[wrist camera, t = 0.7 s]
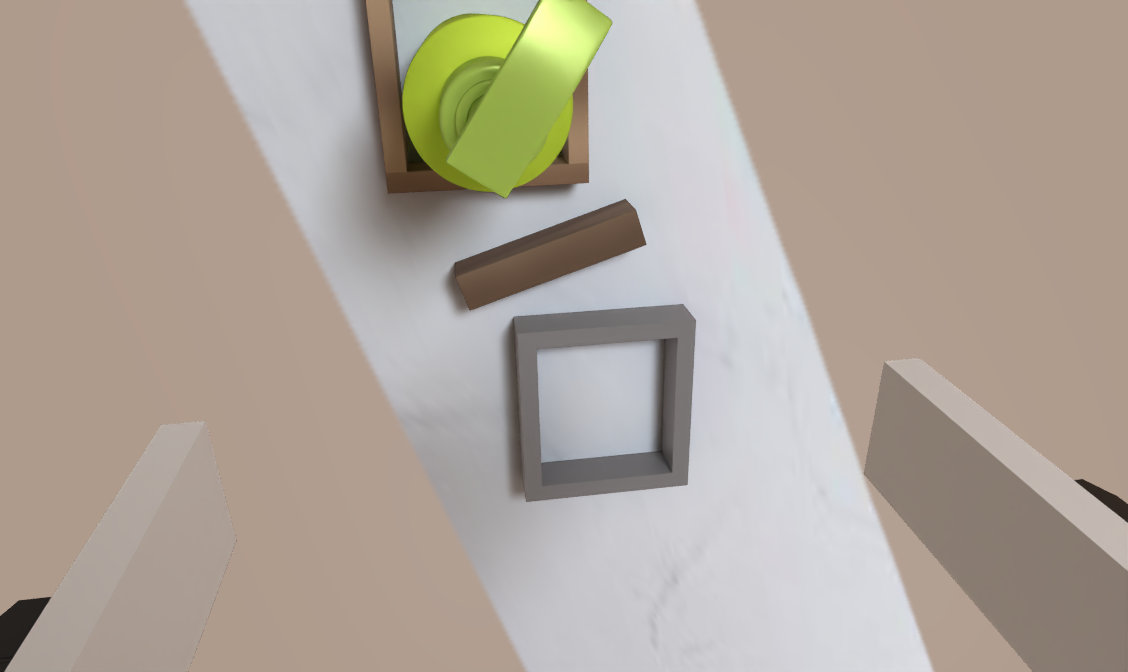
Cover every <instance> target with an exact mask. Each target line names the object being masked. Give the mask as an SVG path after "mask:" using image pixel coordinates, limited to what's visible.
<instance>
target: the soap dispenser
mask: <svg viewBox="0 0 1128 672" xmlns="http://www.w3.org/2000/svg"><path fill="white" fill-rule="evenodd" d="M611 25H612V21H611V20H610V19H609V18H608V17H607V16H605V15H604V14H603V13H601V12H600V11H599V10H597V9H596V8H595V7H593V6H592V5H591V4H589V3H588V2H587V1H585V0H539V1H538V2H537V4H536V6H535V8H534V10H533V11H532V13H531V15H530V17H529V18H528V20H527V22H526V24H523V23H520V22H518V21H516V20H513V19H510V18H506V17H502V16H496V15H486V14H462V15H458V16H455V17H452V18H450V19H448V20H446V21H444V22H442V23H441V24H439V25H438V26H437V27H436V28H435V29H434V30H433V31H432V32H431V33H430V34H429V35H428V37H427V38H426V39H425V41H424V42H423V44H422V45H421V47H420V48H419V50H418V51H417V53H416V54H415V56H414V58H413V60H412V62H411V64H410V66H409V69H408V71H407V74H406V78H405V82H404V87H403V97H402V105H403V115H404V121H405V125H406V128H407V131H408V134H409V137H410V139H411V141H412V143H413V145H414V147H415V149H416V150H417V152H418V153H419V155H420V156H421V157H422V159H423V160H424V161H425V162H426V163H427V164H428V165H429V166H430V167H431V168H432V169H433V170H434V171H435V172H436V173H438V174H439V175H440V176H442V177H443V178H445V179H446V180H448V181H450V182H452V183H454V184H456V185H458V186H461V187H464V188H467V189H471V190H476V191H484V192H495V193H497V194H498V195H500V196H501V197H503V198H505V199H506V198H507V197H508V195H509V194H510V192H511V191H512V189H513V188H516V187H518V186H521V185H523V184H525V183H527V182H529V181H531V180H533V179H534V178H536V177H537V176H539V175H540V174H541V173H542V172H544V171H545V170H546V169H547V168H548V167H549V166H550V165H551V164H552V162H553V161H554V160H555V159H556V157H557V156H558V154H559V153H560V151H561V150H562V148H563V146H564V144H565V142H566V139H567V137H568V134H569V131H570V127H571V122H572V115H573V95H572V94H573V92H574V91H575V89H576V87H577V86H578V84H579V82H580V80H581V79H582V77H583V75H584V74H585V72H586V70H587V68H588V67H589V65H590V63H591V61H592V59H593V58H594V56H595V54H596V52H597V51H598V49H599V47H600V45H601V44H602V42H603V40H604V38H605V36H606V34H607V33H608V31H609V29H610V27H611Z"/></svg>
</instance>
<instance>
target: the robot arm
mask: <svg viewBox="0 0 1128 672" xmlns="http://www.w3.org/2000/svg"><path fill="white" fill-rule="evenodd" d="M864 475H865V476H866V477H867V478H868V479H869V481H870V482H871V483H872V484H873V485H874V486H875V488H876V489H877V490H878V491H879V492H880V493H881V495H882V496H883V497H884V498H885V499H886V500H887V502H888V503H889V504H890V505H891V506H892V507H893V508H894V510H895V511H896V512H897V513H898V515H899V516H900V517H901V518H902V519H903V520H904V522H905V523H906V524H907V525H908V526H909V527H910V528H911V529H912V531H913V532H914V533H915V534H916V536H917V537H918V538H919V539H920V540H921V541H922V543H923V544H924V545H925V546H926V547H927V548H928V550H929V551H930V552H931V553H932V554H933V555H934V556H935V558H936V559H937V560H938V561H939V562H940V564H941V565H942V566H943V567H944V568H945V569H946V571H947V572H948V573H949V574H950V575H951V577H952V578H953V579H954V580H955V581H956V582H957V584H958V585H959V586H960V587H961V588H962V589H963V591H964V592H965V593H966V594H967V595H968V596H969V597H970V599H971V600H972V601H973V602H974V603H975V605H976V606H977V607H978V608H979V609H980V610H981V612H982V613H983V614H984V615H985V616H986V617H987V619H988V620H989V621H990V622H991V623H992V624H993V626H994V627H995V628H996V629H997V630H998V632H999V633H1000V634H1001V635H1002V636H1003V637H1004V638H1005V640H1006V641H1007V642H1008V643H1009V644H1010V646H1011V647H1012V648H1013V649H1014V650H1015V651H1016V653H1017V654H1018V655H1019V656H1020V657H1021V658H1022V660H1023V661H1024V662H1025V663H1026V664H1027V665H1028V667H1029V668H1030V669H1031V670H1032V671H1033V672H1128V504H1127V503H1126V502H1124V501H1123V500H1122V499H1120V498H1119V497H1117V496H1116V495H1114V494H1112V493H1109V492H1107V491H1105V490H1103V489H1101V488H1099V487H1097V486H1095V485H1093V484H1091V483H1089V482H1087V481H1085V480H1083V479H1080V480H1073V479H1071V478H1070V477H1069V476H1068V475H1066V474H1065V473H1064V472H1062V471H1061V470H1060V469H1058V467H1056V466H1055V465H1054V464H1052V463H1051V462H1050V461H1049V460H1047V459H1046V458H1045V457H1043V456H1042V455H1041V454H1040V453H1039V452H1037V451H1036V450H1035V449H1033V448H1032V447H1031V446H1030V445H1028V444H1027V443H1026V442H1025V441H1023V440H1022V439H1021V438H1020V437H1018V436H1017V435H1016V434H1014V433H1013V432H1012V431H1011V430H1009V429H1008V428H1007V427H1006V426H1004V425H1003V424H1002V423H1001V422H999V421H998V420H997V419H996V418H994V417H993V416H992V415H991V414H989V413H988V412H987V411H986V410H984V409H983V408H982V407H980V406H979V405H978V404H977V403H975V402H974V401H973V400H972V399H970V398H969V397H968V396H967V395H965V394H964V393H963V392H961V391H960V390H959V389H957V388H956V387H955V386H954V385H952V384H951V383H950V382H949V381H948V380H946V379H945V378H944V377H943V376H941V375H940V374H939V373H937V372H936V371H935V370H934V369H932V368H931V367H930V366H928V365H927V364H926V363H925V362H924V361H922V360H921V359H919V358H917V359H906V360H894V361H884V366H883V371H882V376H881V382H880V387H879V393H878V398H877V404H876V409H875V415H874V420H873V426H872V431H871V437H870V442H869V448H868V453H867V458H866V464H865V469H864ZM236 541H237V540H236V537H235V533H234V529H233V525H232V521H231V518H230V514H229V510H228V506H227V502H226V498H225V495H224V490H223V486H222V483H221V479H220V475H219V471H218V467H217V464H216V459H215V455H214V452H213V448H212V444H211V440H210V436H209V432H208V428H207V424H206V421H199V422H187V423H177V424H165V425H161V426H160V427H159V429H158V430H157V432H156V434H155V435H154V437H153V438H152V440H151V441H150V443H149V445H148V446H147V448H146V449H145V451H144V453H143V454H142V456H141V457H140V459H139V460H138V462H137V463H136V465H135V467H134V468H133V470H132V471H131V473H130V475H129V476H128V478H127V479H126V481H125V482H124V484H123V486H122V487H121V489H120V490H119V492H118V493H117V495H116V497H115V498H114V500H113V501H112V503H111V505H110V506H109V508H108V509H107V511H106V512H105V514H104V516H103V517H102V519H101V520H100V522H99V523H98V525H97V526H96V528H95V530H94V531H93V533H92V534H91V536H90V538H89V539H88V541H87V542H86V544H85V545H84V547H83V549H82V550H81V552H80V553H79V555H78V556H77V558H76V560H75V561H74V563H73V564H72V566H71V567H70V569H69V571H68V572H67V574H66V576H65V577H64V579H63V580H62V582H61V583H60V585H59V586H58V588H57V589H56V591H55V593H54V594H53V596H52V597H46V598H38V599H29V600H19V601H18V602H17V603H15V604H14V605H13V606H12V607H11V608H9V609H8V610H7V611H6V612H5V613H3V614H2V615H1V616H0V672H188V671H189V669H190V666H191V663H192V660H193V658H194V655H195V652H196V650H197V646H198V644H199V641H200V639H201V636H202V633H203V631H204V628H205V625H206V622H207V620H208V617H209V614H210V612H211V609H212V606H213V603H214V601H215V598H216V595H217V593H218V590H219V587H220V584H221V581H222V579H223V576H224V574H225V571H226V568H227V565H228V563H229V560H230V557H231V555H232V552H233V549H234V546H235V543H236Z"/></svg>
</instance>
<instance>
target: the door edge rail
mask: <svg viewBox="0 0 1128 672" xmlns="http://www.w3.org/2000/svg"><path fill="white" fill-rule="evenodd" d="M644 245H646V242H645V238H644V235H643V232H642V228H641V225H640V222H639V218H638V215H637V212H636V210H635V208H634V207H633V206H632V205H631V204H630V203H629V202H628V201H627V200H626V199H624V200H622V201H619V202H616V203H614V204H611V205H608V206H606V207H603V208H600V209H598V210H595V211H592V212H590V213H587V214H584V215H582V216H579V217H576V218H573V219H571V220H568V221H565V222H563V223H560V224H557V225H555V226H552V227H549V228H547V229H544V230H541V231H539V232H536V233H533V234H531V235H528V236H525V237H523V238H520V239H517V240H515V241H512V242H509V243H507V244H504V245H501V246H498V247H496V248H493V249H490V250H488V251H485V252H482V253H480V254H477V255H474V256H472V257H469V258H466V259H464V260H461V261H458V262H456V263H455V276H456V279H457V282H458V284H459V287H460V289H461V291H462V294H463V296H464V298H465V301H466V303H467V305H468V308H469V310H473V309H476V308H478V307H481V306H484V305H486V304H489V303H492V302H494V301H497V300H500V299H502V298H505V297H508V296H510V295H513V294H516V293H518V292H521V291H524V290H526V289H529V288H532V287H535V286H537V285H540V284H543V283H545V282H548V281H551V280H553V279H556V278H559V277H561V276H564V275H567V274H569V273H572V272H575V271H577V270H580V269H583V268H585V267H588V266H591V265H593V264H596V263H599V262H602V261H604V260H607V259H610V258H612V257H615V256H618V255H620V254H623V253H626V252H628V251H631V250H634V249H636V248H639V247H642V246H644Z"/></svg>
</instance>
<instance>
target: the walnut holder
mask: <svg viewBox="0 0 1128 672" xmlns="http://www.w3.org/2000/svg"><path fill="white" fill-rule="evenodd" d="M585 1H587V0H585ZM366 7H367V16H368V24H369V33H370V42H371V50H372V59H373V67H374V76H375V85H376V93H377V102H378V111H379V119H380V128H381V137H382V145H383V154H384V162H385V171H386V180H387V188H388V193H407V192H425V191H444V190H463V189H467V188H464V187H461V186H458V185H456V184H454V183H452V182H450V181H448V180H446V179H445V178H443V177H442V176H440V175H439V174H438V173H436V172H435V171H434V170H433V169H432V168H431V167H430V166H429V165H428V164H427V163H426V162H412V163H409V159H408V150H407V140H406V130H405V121H404V115H403V105H402V91H401V82H400V72H399V62H398V52H397V43H396V33H395V23H394V14H393V4H392V0H366ZM572 95H573V115H572V122H571V127H570V131H569V134H568V137H567V139H566V142H565V144H564V146H563V148H562V155H558V156H557V157H556V159H555V160H554V161H553V162H552V164H551V165H550V166H549V167H548V168H547V169H546V170H545V171H544V172H542V173H541V174H540V175H539V176H537V177H536V178H534V179H533V180H531V181H529V182H527V183H525V184H523V185H521V186H539V185H557V184H576V183H589V144H588V68H587V70H586V72H585V74H584V75H583V77H582V79H581V80H580V82H579V84H578V86H577V87H576V89H575V91H574V92H573V94H572ZM518 187H520V186H518Z"/></svg>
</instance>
